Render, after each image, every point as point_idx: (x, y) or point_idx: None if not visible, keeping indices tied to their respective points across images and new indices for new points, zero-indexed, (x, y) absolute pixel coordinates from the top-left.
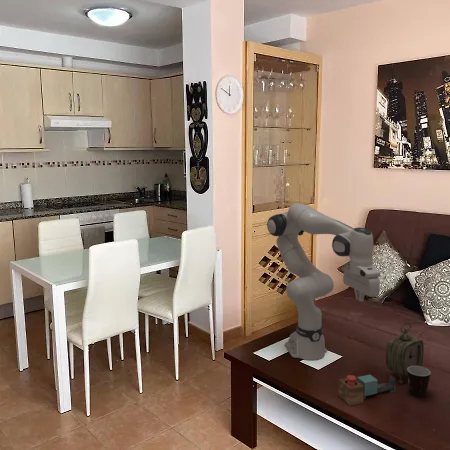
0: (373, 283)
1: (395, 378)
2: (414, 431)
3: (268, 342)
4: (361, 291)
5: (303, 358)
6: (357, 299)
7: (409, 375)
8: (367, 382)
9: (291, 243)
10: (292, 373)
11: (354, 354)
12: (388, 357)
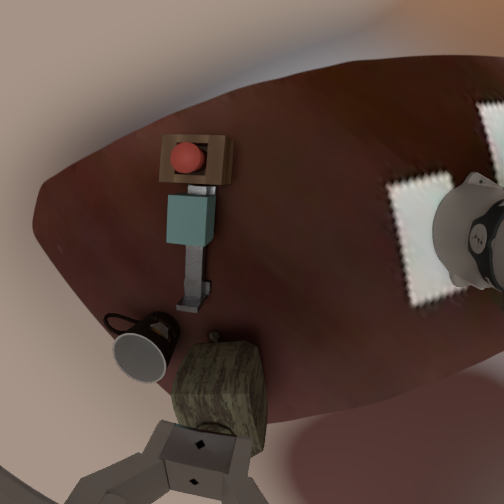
0: None
1: (177, 307)
2: (63, 210)
3: None
4: (12, 489)
5: (453, 190)
6: (211, 436)
7: (142, 330)
8: (168, 204)
9: None
10: (398, 105)
11: (399, 340)
12: (234, 355)
